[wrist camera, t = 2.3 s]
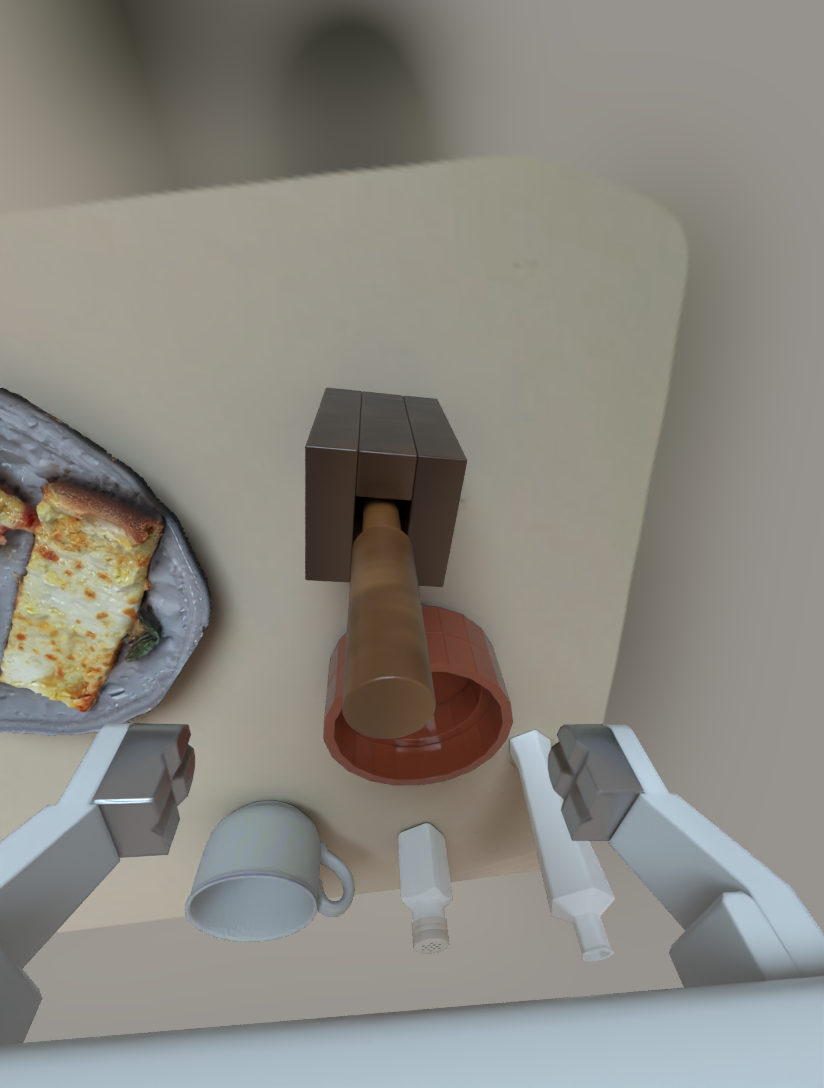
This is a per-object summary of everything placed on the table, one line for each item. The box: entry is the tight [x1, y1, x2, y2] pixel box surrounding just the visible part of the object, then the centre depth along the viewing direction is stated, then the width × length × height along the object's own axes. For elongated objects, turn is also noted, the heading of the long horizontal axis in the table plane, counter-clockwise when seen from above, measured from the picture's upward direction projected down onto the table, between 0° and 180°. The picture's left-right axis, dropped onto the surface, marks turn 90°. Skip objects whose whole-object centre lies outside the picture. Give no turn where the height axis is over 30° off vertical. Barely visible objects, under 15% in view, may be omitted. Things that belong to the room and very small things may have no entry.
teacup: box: [185, 801, 355, 942], centre depth 42 cm, size 14×11×8 cm
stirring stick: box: [342, 497, 436, 739], centre depth 18 cm, size 2×2×18 cm
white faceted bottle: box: [510, 730, 615, 961], centre depth 36 cm, size 5×4×15 cm
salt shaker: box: [398, 823, 452, 954], centre depth 45 cm, size 4×4×10 cm
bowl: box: [323, 606, 513, 785], centre depth 33 cm, size 12×12×6 cm
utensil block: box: [305, 388, 467, 587], centre depth 22 cm, size 6×6×9 cm
